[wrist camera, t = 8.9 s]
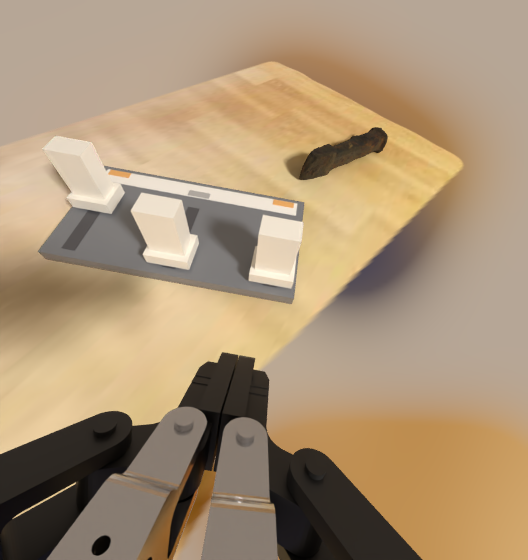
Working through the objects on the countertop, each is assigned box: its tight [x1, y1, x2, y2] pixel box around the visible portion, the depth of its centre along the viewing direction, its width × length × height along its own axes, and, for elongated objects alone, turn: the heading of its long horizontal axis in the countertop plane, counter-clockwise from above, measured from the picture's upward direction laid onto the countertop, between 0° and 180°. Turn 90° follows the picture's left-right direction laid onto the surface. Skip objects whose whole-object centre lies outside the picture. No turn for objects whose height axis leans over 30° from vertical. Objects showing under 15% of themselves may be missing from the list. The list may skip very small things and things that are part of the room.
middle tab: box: [131, 193, 199, 270], centre depth 27 cm, size 5×4×8 cm
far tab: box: [42, 136, 125, 214], centre depth 31 cm, size 5×4×8 cm
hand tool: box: [300, 127, 388, 180], centre depth 44 cm, size 19×4×5 cm, turn 123°
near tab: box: [249, 215, 303, 289], centre depth 27 cm, size 5×4×8 cm
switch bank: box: [38, 166, 304, 304], centre depth 34 cm, size 30×16×2 cm, turn 81°
